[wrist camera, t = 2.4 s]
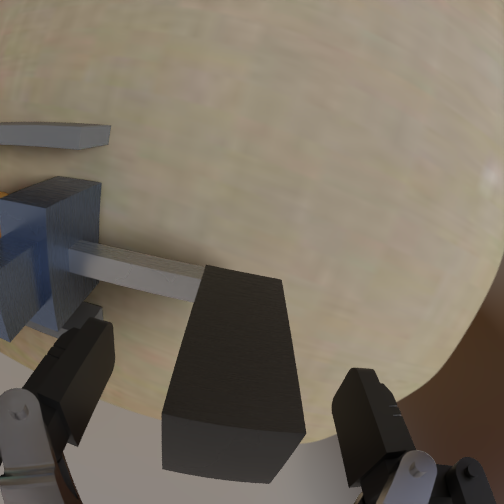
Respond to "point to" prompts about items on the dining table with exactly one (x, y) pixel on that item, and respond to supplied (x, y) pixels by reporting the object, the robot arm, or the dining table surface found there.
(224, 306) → the striker
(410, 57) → the dining table surface
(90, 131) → the pitch
